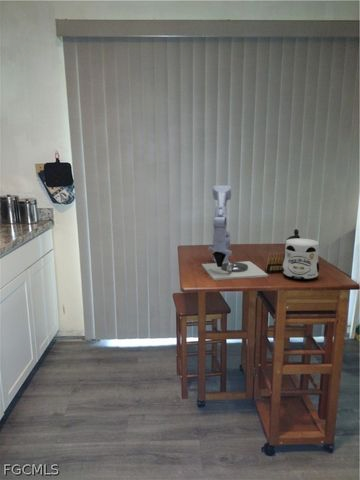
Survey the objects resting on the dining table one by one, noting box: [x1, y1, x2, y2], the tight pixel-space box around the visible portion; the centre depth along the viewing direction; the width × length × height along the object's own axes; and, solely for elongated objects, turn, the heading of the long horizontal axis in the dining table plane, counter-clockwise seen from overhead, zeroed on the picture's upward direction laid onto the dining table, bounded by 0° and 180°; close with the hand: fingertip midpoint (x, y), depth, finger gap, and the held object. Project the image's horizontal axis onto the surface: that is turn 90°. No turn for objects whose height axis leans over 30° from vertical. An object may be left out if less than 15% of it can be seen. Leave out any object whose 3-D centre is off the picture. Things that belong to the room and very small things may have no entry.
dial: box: [221, 261, 248, 272], centre depth 196 cm, size 18×14×5 cm
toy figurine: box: [284, 228, 301, 245], centre depth 225 cm, size 9×19×25 cm
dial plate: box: [201, 260, 269, 281], centre depth 197 cm, size 26×28×1 cm
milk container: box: [282, 237, 320, 281], centre depth 184 cm, size 17×17×18 cm
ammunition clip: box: [264, 251, 285, 274], centre depth 192 cm, size 11×2×12 cm, turn 96°
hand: (219, 266), depth 190 cm, fingers closed
